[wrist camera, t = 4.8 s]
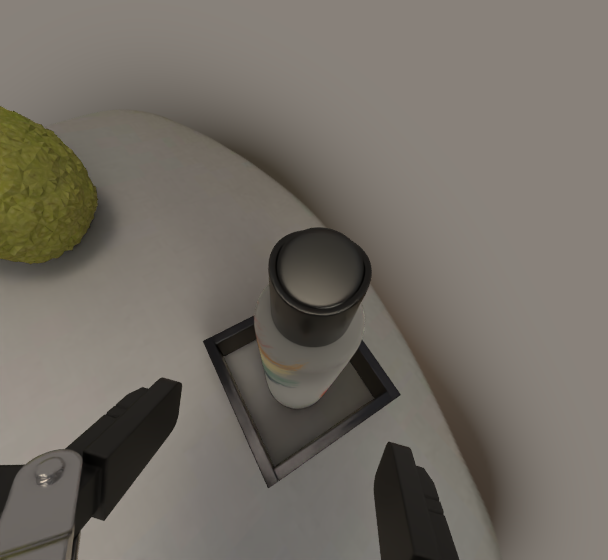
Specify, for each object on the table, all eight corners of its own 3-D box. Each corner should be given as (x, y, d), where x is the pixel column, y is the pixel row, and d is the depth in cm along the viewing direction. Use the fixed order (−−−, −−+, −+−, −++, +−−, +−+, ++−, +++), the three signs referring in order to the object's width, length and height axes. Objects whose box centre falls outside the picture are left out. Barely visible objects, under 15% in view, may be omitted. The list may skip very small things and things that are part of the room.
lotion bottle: (332, 355, 29) (404, 217, 12) (321, 416, 26) (395, 356, 9) (276, 341, 29) (266, 188, 12) (259, 401, 27) (215, 313, 9)
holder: (386, 401, 27) (401, 394, 24) (270, 482, 24) (268, 488, 20) (317, 299, 32) (321, 281, 29) (212, 353, 28) (202, 340, 25)
